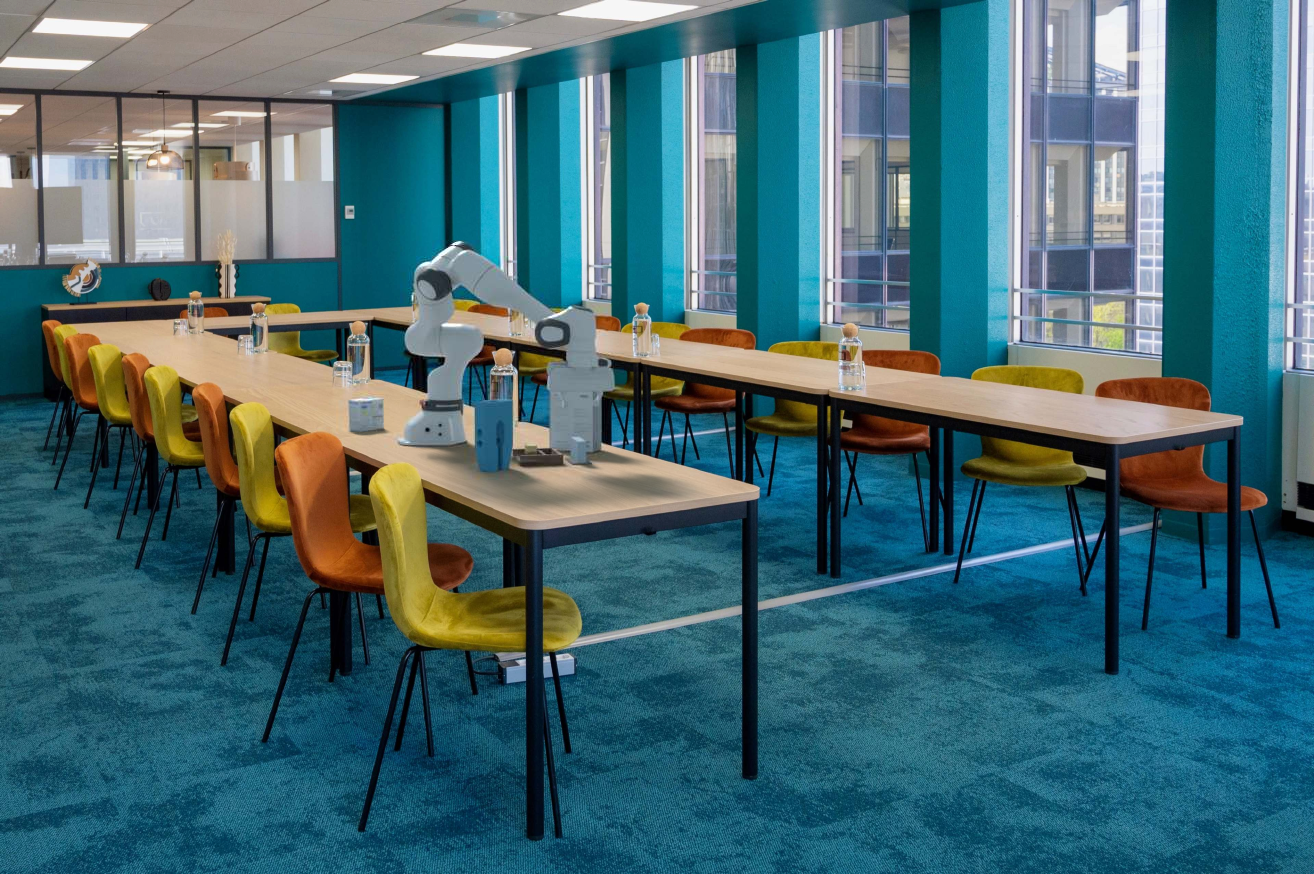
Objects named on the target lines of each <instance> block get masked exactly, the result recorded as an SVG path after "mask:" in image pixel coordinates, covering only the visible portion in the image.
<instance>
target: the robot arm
mask: <svg viewBox="0 0 1314 874" xmlns="http://www.w3.org/2000/svg"><path fill="white" fill-rule="evenodd" d="M413 277H414V278H413V281H414V283H413V284H414V292H415V296H416V301H417V305H418V312H419V313H418V314H419V316H418V318H417V320H416V321H415V322H414V323H413V324H411V325H409V327H408V328H407V329H406V332H405V334H404V343H405V347H406V349H407V350H408V351H409V353H411V354H413V355H417V356H423V357H439V358H441V357H444V358H445V359H444V364H442V365H440V366H439V367H437V368H434V369H433V370H431V371H430V372H429V374H428V376H427V398H425V399H423V398H420V399H419V400H418V404H419V405H420V406H421V411H419V412H417V414H415V415H414V416H413V417H411V418H410V419H409V420H407V422H406V424H405V426H404V431H403V432H404V433H403V436H399V437H397V443H398V444H400V445H403V446H453V445H456V444H461V443H465V442H467V441H468V439H467V436H466V432H465V428H464V427H465V426H464V420H463V416H464V399H463V398H462V397H463V396H462V394H463V393H462V391H463V390H462V388H463V376H464V373H465V371H466V367H467V366H468V364H469V363H470V362H471V360H472V359H474V358H475V357H476V356H478V355H479V353H480V352H481V351H482V349H483V347H484V342H485V340H484V335H483V332H482V330H481V329H480V328H479V326H476V325H471V324H467V323H455V322H454V323H451V322H449V323H448V321H450V320H451V319H452V317H453V316H454V314H455V303H454V302H455V301H454V298H453V293H452V292H453V291H454V290H456V289H457V288H458V287H459V286H462V287H464V288H465V289H467V290H468V292H470V293H471V294H472V295H474V296H475V297H476V298H478V299H479V300H480V301H482V302H484V303H486V304H488V305H490V306H492V307H496V308H497V307H498V308H504V309H509V310H513V311H515V312H517V313H520V314H521V315H523V316H524V317H526V318H527V319H528V320H529V321H531V322H532V323H534V324H535V328H534V338H535V340H536V343H537V344H538V345H540V346H541V347H543V348H545V349H549V350H555V349H559V348H565V350H566V351H565V352H566V356H565V359H566V360H558V361H557V360H553V361H551V362H549V363H548V364H547V366H546V374H547V384H546V390H548V392H549V391H550V392H559V396H560V398H561V400H562V406H563V407H568V406H569V405H568V404H569V401H565V399H564V397H563V396H565V392H592V391H597V394H598V396H597V398H596V400H593V406H599V401H600V399H601V400H602V397H603V395H604V392H612V391H613V390H614V389H615V386H616V385H615V382H616V381H615V374H614V371H613V369H612V368H611V366H612V360H610V359H609V358H606V357H603V356H601V355H597V348H596V338H597V324H596V316H595V313H594V311H593V310H592V309H591V308H589V307H585V306H582V305H570V306H568V307H567V308H565V309H564V310H561V312H557V311H555V310H553V309H551V308H550V307H548V306H547V305H545V304H544V303H542V302H541V301H540V300H538V299H537V298H535V297H534V296H532V295H531V294H530V293H528V292H527V291H526V290H525V289H524V288H522V287H521V285H519V284H518V283H517V282H516V281H514V280H513V278H511V277H510V276H509V275H508V274H507V273H506V272H505V271H503V270H502V269H501V267H499V266H497V265H496V264H495V263H494V262H492V261H491V260H489V259H487V258H486V257H484V256H483V255H481V254H479V253H477V252H476V250H475V249H474V247H473V246H472V245H470V244H469V243H468V242H464V241H460V240H459V241H456V242H454V243H452V244H450V245H448V246H447V248H445V249H444V250H442V251H441V252H440V253H438V254H437V255H436V256H434V258H433V259H432V260H431V261H426V262H423V263H421V264H419V265H418V266H417V268H416V269H415V271H414V276H413Z"/></svg>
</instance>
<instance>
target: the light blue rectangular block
mask: <svg viewBox="0 0 1314 874" xmlns="http://www.w3.org/2000/svg"><path fill="white" fill-rule="evenodd" d="M570 458H571V459H573V460H574V461H575V462H577V463H586V459H587V452H586V441H585V440H583V439H582V438H580V437H571V451H570Z"/></svg>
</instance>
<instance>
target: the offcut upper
mask: <svg viewBox="0 0 1314 874" xmlns="http://www.w3.org/2000/svg"><path fill="white" fill-rule="evenodd" d="M537 448H538V445H537V444H536V443H524V449H525V450H526V451H527V452H537Z"/></svg>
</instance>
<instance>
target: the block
mask: <svg viewBox="0 0 1314 874" xmlns="http://www.w3.org/2000/svg"><path fill="white" fill-rule="evenodd" d="M512 449H514V400H513V399H510V398H509V399H508V398H497V399H488V400H480V401H474V450H475V458H476V461H477V467H478V470H479V471H480V472H486V473H487V472H488V473H492V472H498V471H499V470H509V469H510V465H511V459H512Z"/></svg>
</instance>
